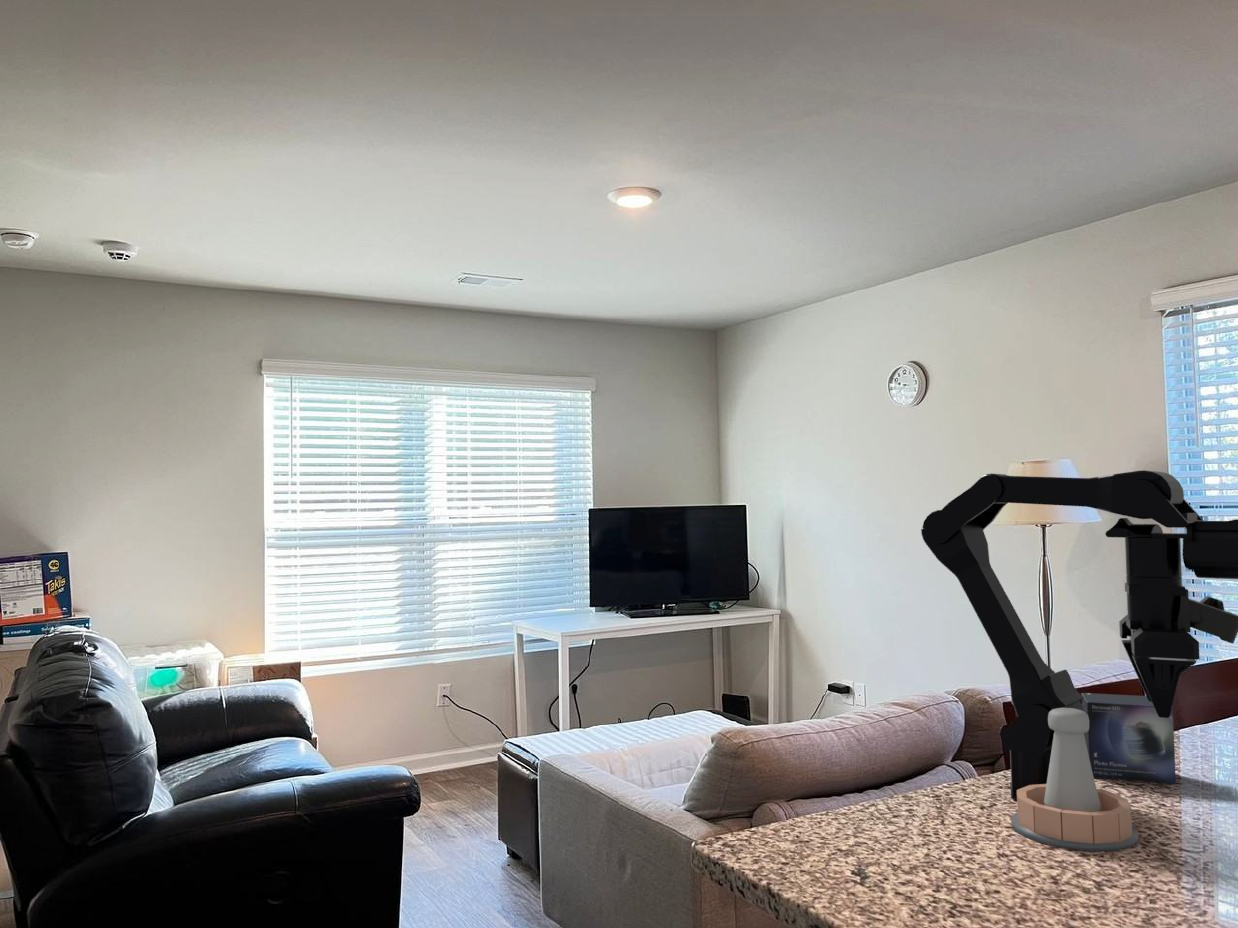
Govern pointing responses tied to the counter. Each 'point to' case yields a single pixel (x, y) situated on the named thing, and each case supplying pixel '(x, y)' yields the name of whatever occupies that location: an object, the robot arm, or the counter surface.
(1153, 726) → the small box
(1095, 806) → the salt shaker
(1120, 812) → the socket
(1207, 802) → the counter surface
